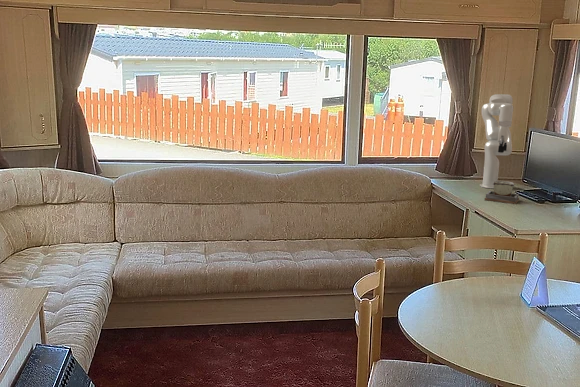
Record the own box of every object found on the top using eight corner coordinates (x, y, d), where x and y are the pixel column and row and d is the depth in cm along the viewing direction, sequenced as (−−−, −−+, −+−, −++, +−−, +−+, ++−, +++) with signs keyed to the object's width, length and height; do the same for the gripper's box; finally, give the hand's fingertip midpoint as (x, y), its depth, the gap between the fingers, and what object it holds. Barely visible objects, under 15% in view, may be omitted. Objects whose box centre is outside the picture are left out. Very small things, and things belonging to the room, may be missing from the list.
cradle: (488, 196, 355) (489, 190, 354) (518, 199, 347) (519, 194, 346) (484, 200, 344) (485, 194, 343) (515, 204, 336) (516, 198, 335)
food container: (512, 197, 347) (514, 181, 345) (512, 199, 342) (514, 183, 339) (491, 195, 351) (493, 180, 349) (491, 197, 346) (492, 181, 344)
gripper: (501, 122, 357) (498, 149, 361) (496, 124, 343) (493, 152, 347) (513, 123, 354) (510, 150, 358) (509, 125, 339) (506, 153, 343)
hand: (502, 151), depth 352 cm, fingers open, 9 cm apart
